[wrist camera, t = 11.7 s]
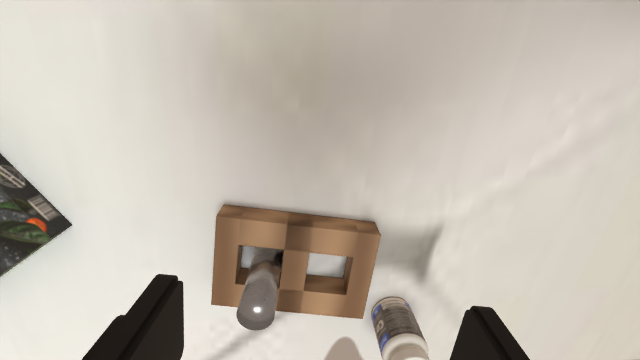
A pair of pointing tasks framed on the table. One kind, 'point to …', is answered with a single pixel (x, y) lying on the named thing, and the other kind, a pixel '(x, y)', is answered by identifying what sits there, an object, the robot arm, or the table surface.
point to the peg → (260, 289)
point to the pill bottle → (398, 331)
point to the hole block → (296, 259)
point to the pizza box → (24, 218)
